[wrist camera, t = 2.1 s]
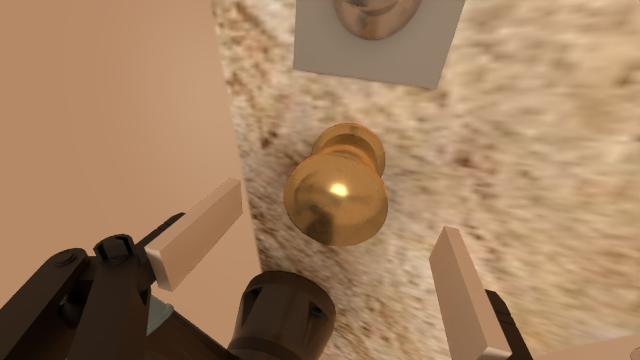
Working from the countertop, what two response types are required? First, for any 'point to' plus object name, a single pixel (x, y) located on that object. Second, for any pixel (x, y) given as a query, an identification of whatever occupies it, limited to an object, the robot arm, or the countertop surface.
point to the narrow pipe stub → (375, 16)
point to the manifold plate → (376, 44)
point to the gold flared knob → (339, 187)
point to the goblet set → (635, 354)
